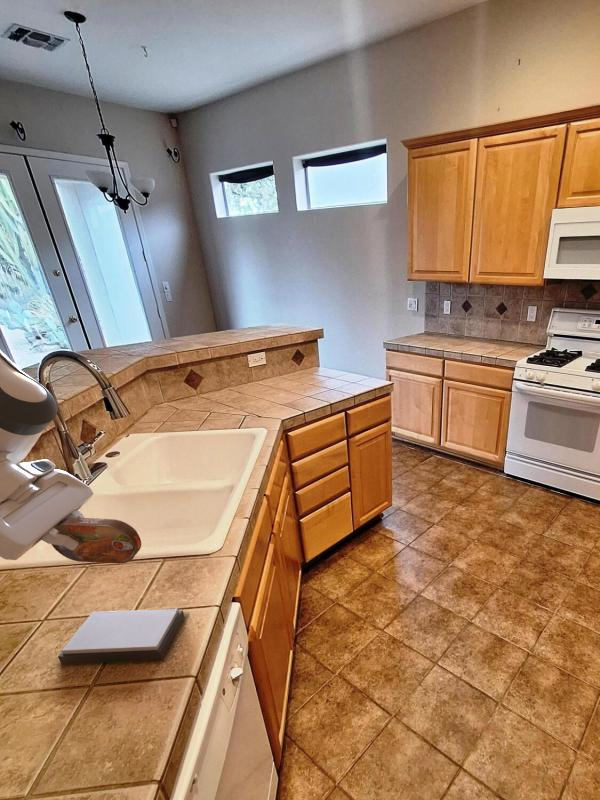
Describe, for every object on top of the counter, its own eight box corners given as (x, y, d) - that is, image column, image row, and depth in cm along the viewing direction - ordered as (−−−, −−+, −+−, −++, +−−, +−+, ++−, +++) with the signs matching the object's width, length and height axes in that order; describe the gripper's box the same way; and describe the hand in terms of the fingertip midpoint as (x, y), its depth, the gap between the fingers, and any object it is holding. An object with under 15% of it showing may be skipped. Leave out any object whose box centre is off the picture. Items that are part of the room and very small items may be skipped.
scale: (62, 666, 70) (56, 653, 69) (96, 622, 79) (91, 609, 78) (162, 661, 72) (158, 648, 70) (185, 618, 81) (182, 606, 79)
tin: (58, 560, 77) (38, 525, 73) (70, 548, 80) (51, 513, 75) (140, 565, 77) (125, 530, 72) (150, 553, 80) (135, 518, 75)
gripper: (-39, 509, 61) (56, 563, 66) (54, 456, 79) (123, 501, 84) (-59, 536, 63) (35, 587, 68) (37, 478, 81) (105, 521, 86)
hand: (84, 539), depth 76 cm, fingers closed on tin, 3 cm apart
